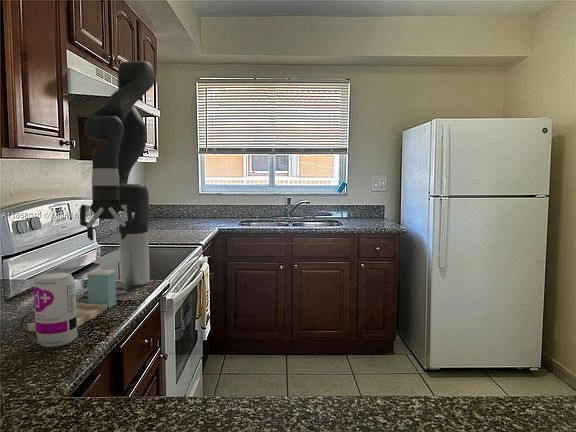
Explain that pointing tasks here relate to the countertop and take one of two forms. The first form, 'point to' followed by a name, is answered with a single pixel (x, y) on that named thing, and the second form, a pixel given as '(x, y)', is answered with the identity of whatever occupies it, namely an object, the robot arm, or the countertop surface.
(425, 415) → the countertop surface
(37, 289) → the supplement can
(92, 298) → the block
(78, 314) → the board
